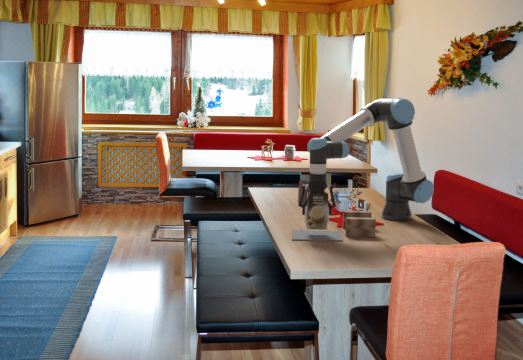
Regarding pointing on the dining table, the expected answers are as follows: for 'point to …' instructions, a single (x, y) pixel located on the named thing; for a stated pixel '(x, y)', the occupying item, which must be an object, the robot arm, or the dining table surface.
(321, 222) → the coffee box
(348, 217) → the packet holder
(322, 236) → the rubber mat
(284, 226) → the dining table surface
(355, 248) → the dining table surface
